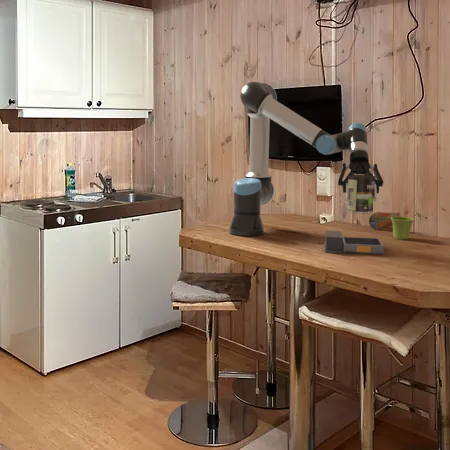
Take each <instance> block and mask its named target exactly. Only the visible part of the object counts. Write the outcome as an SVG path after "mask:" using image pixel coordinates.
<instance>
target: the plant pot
mask: <svg viewBox="0 0 450 450" xmlns="http://www.w3.org/2000/svg"><path fill="white" fill-rule="evenodd" d="M391 219H392V223H393V231H392V233H393V238H394V239H396V240H400V241H402V240H409V238H410V232H411V228H412V225H413V221H414V220H415V219H414V218H413V217H407V216H401V217H391Z"/></svg>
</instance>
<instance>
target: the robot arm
mask: <svg viewBox="0 0 450 450" xmlns="http://www.w3.org/2000/svg"><path fill="white" fill-rule="evenodd" d="M239 95H240V96H239V98H240V102H241V103H242V105H243V106H244V107H246V115H247V116H248V117H249V118H250V120H249V121H250V123H249V124H250V125H249V126H250V128H249V131H250V132H249V160H248V161H249V163H248V165H249V166H248V167H249V169H248V172H247V173H246V174H245V177H244V178H239V179H237V180H235V181H234V186H233V216H232V219H231V222H230V224H229V230H228V233H229V234H231V235H233V236H234V235H235V236H239V237H241V236H242V237H243V236H244V237H255V236H261V235H264V234H265V229H264V224H263V221H262V216H261V208H262V207H261V206H263V205H265V204H268V203H269V202H270V201H271V200H272V198H273V196H274V194H275V188H274V185H273V183H272V175H271V174H270V172H269V153H270V151H269V149H270V123H271V121H273V122H274V123H276V124H278V125H279V126H280V127H282V128H284V129H286V130H287V131H289V132H291V133H292V134H294V136H296V137H298V138H299V139H302V140H303V141H305V142H306V143H308V144H309V145H311V146H312V147H313V148H316V150H317V151H318V152H319V153H321V154H322V155H325V156H326V155H332V154H335V153H340V152H343V151H347V150H349V164H346V163H345V162H343V163H342V166H341V172H340V175H339V178H338V181H337V185H338V186H341V188H342V193H345V201H346V202H347V201H348V197H349V193H348V176H349V175H370V176H375V184H374V201H373V202H377V199H378V194H379V193H380V187H383V186H384V180H383V177H382V175H381V173H380V171H379V168H378V164H377V163H374V164H371V163H370V162H369V161H370V159H369V145H368V133H367V127H366V126H365V125H364V123H361V122H354V123H352V124H351V125H350V126H349V127H348V130H347V131H344V132H339V133H336V134H335V133H334V134H330V133H328V132H327V131H325V130H323V129H322V128H320V127H319V126H317V125H315V124H314V123H313V122H311V121H309V120H308V119H306V118H304V117H303V116H301V115H299V114H298V113H297V112H295V111H294V110H291V109H290V108H289V107H287V106H285V105H284V104H282V103H281V102H279V101H278V97H277V92H276V90H275V89H274V87H272V86H271V85H269V84H268V83H265V82H259V81H250V82H248V83H246V84H245V85H243V87H242V89H241V90H240V94H239ZM270 120H271V121H270ZM348 169H349V170H350V171H349V173H348V174H347V176H346V177H345V174H346V171H347V170H348ZM370 169H371V171H370ZM372 172H373V173H372ZM344 177H345V178H344Z"/></svg>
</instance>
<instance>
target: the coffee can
mask: <svg viewBox="0 0 450 450" xmlns="http://www.w3.org/2000/svg"><path fill="white" fill-rule="evenodd" d="M347 176H348V175H347ZM375 178H376V177H375V175H373V176H370V175H361V174H358V175H356V174H355V175H349V176H348V193H349V197H348V201H346V212H347V213H351V214H363V215H364V214H365V215H366V214H373V213H374V202H375V201H374V184H375Z"/></svg>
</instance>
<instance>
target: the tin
mask: <svg viewBox="0 0 450 450" xmlns="http://www.w3.org/2000/svg"><path fill="white" fill-rule="evenodd" d="M391 217H402V216H401V215H400V214H399V213H396V212H385V211H384V212H381V211H377V212H373V213H371V215H370V216H369V219H368V223H369V225H370V227H371V229H374V230H375V231H382V232H383V231H384V232H393V223H392V219H391Z"/></svg>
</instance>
